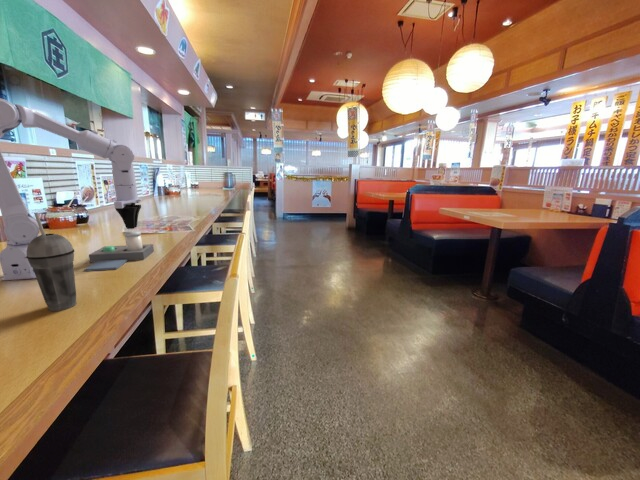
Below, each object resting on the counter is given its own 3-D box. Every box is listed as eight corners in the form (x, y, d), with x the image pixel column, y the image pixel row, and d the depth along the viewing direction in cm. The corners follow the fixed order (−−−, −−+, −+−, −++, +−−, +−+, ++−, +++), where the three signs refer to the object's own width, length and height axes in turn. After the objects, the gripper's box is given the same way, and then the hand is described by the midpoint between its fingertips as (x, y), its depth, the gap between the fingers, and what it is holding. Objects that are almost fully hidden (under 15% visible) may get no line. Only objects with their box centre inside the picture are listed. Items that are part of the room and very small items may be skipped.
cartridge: (141, 257, 96) (137, 233, 94) (125, 258, 95) (121, 234, 93) (146, 253, 100) (142, 230, 98) (130, 254, 99) (127, 231, 97)
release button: (113, 257, 94) (111, 248, 94) (102, 257, 94) (101, 248, 93) (117, 254, 97) (115, 245, 97) (107, 255, 97) (105, 246, 96)
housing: (144, 259, 93) (143, 252, 93) (90, 262, 90) (88, 254, 90) (154, 251, 103) (153, 244, 102) (105, 253, 100) (104, 246, 99)
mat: (116, 269, 84) (116, 267, 84) (84, 271, 83) (84, 269, 83) (127, 260, 92) (127, 259, 92) (98, 262, 90) (98, 260, 90)
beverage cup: (93, 299, 65) (76, 209, 60) (62, 315, 58) (39, 215, 53) (63, 298, 66) (43, 208, 61) (29, 313, 59) (4, 214, 54)
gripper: (130, 186, 86) (137, 232, 89) (147, 183, 100) (152, 223, 103) (103, 186, 84) (111, 233, 88) (123, 184, 98) (130, 224, 101)
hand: (131, 227), depth 95 cm, fingers closed
